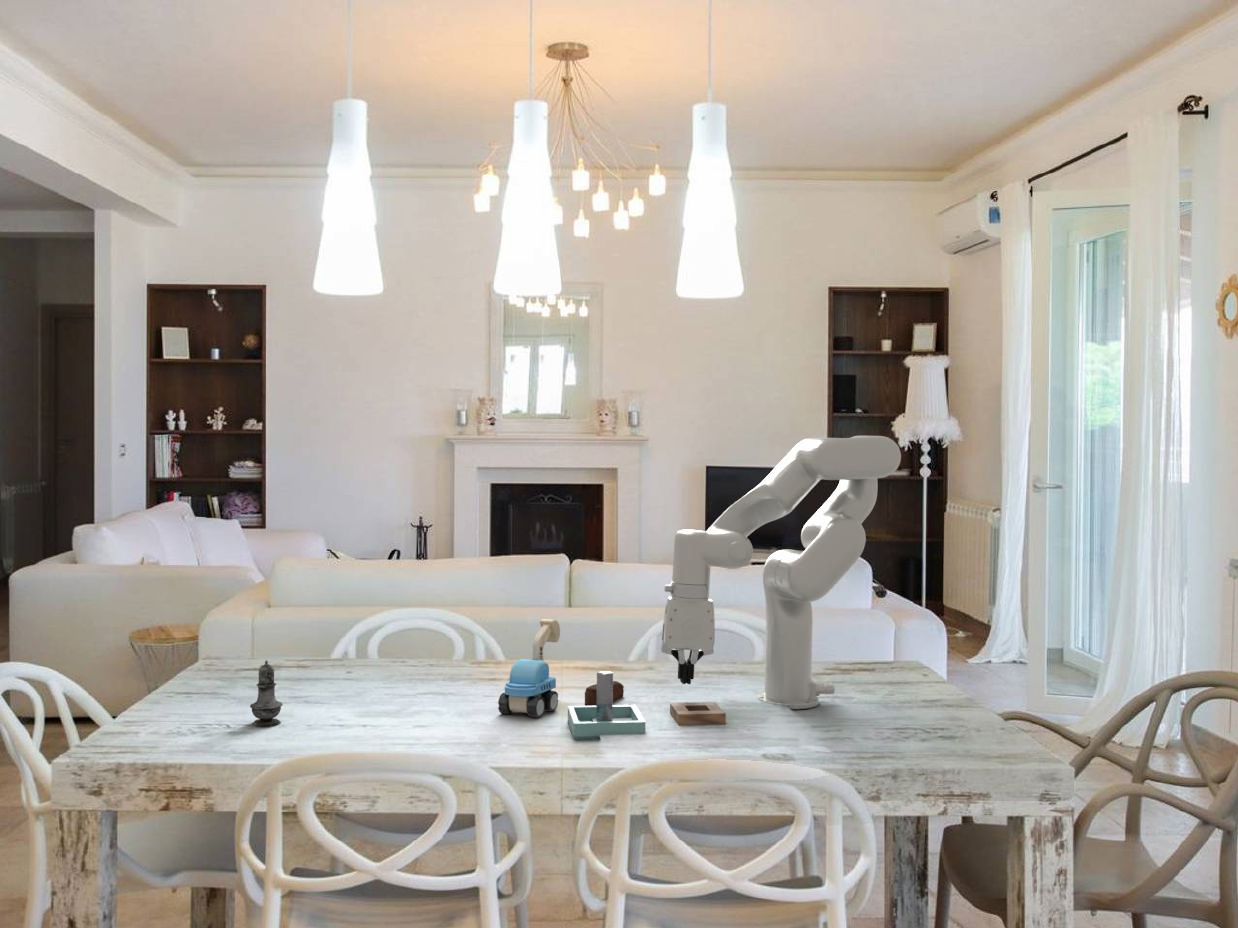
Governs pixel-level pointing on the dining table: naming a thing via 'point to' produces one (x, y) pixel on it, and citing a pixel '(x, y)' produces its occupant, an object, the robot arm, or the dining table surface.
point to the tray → (603, 722)
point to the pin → (604, 696)
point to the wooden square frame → (697, 713)
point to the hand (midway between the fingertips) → (685, 682)
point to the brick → (592, 693)
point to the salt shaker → (266, 699)
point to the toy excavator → (532, 678)
